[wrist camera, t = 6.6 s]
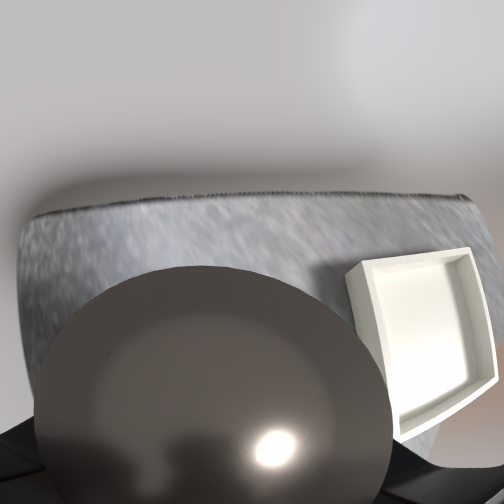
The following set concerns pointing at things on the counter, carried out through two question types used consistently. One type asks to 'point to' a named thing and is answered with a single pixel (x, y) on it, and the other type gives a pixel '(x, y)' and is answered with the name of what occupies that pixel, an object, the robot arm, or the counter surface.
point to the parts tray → (425, 333)
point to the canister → (211, 396)
